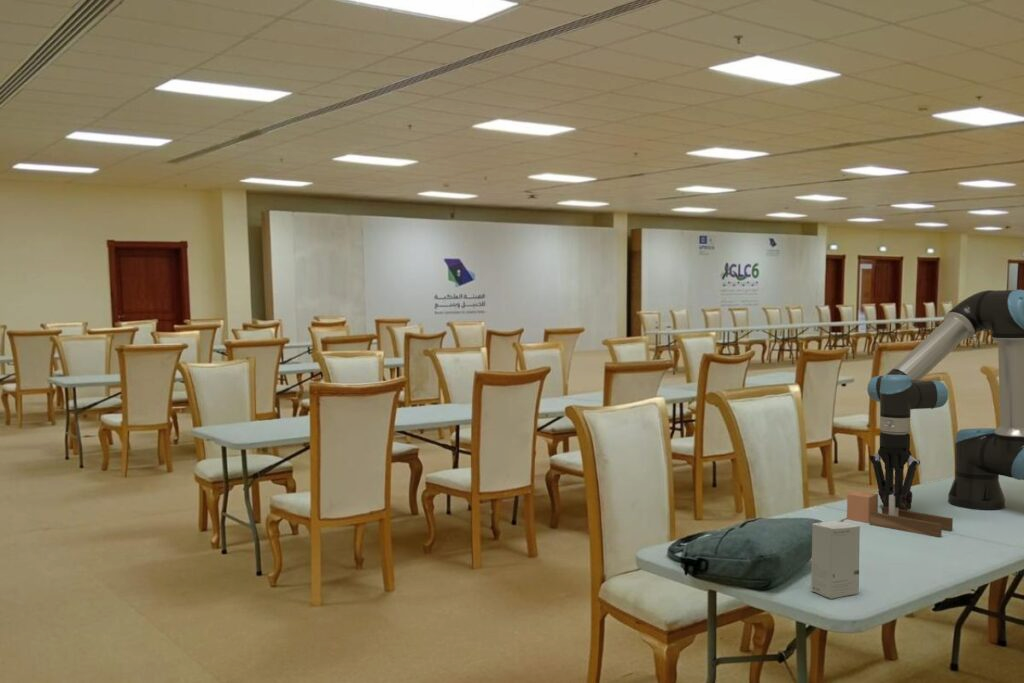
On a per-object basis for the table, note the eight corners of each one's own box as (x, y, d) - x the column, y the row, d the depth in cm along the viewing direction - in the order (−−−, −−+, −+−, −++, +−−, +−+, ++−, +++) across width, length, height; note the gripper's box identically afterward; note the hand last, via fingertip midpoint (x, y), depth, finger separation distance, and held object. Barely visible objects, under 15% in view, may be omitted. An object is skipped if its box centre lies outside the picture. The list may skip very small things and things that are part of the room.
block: (856, 515, 244) (856, 490, 243) (877, 518, 239) (877, 494, 239) (846, 519, 239) (847, 494, 239) (868, 522, 235) (868, 497, 235)
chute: (857, 516, 247) (857, 501, 246) (954, 534, 228) (954, 517, 228) (838, 524, 238) (838, 508, 238) (937, 543, 220) (937, 525, 219)
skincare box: (830, 600, 179) (831, 529, 178) (809, 591, 184) (810, 522, 184) (860, 594, 182) (861, 524, 181) (839, 585, 188) (840, 518, 187)
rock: (916, 515, 253) (880, 509, 259) (919, 486, 253) (883, 481, 259) (908, 517, 243) (870, 511, 249) (910, 487, 244) (873, 481, 250)
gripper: (864, 431, 234) (863, 516, 236) (913, 436, 225) (912, 525, 226) (876, 428, 240) (875, 512, 241) (925, 433, 230) (923, 520, 231)
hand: (893, 518), depth 233 cm, fingers closed
